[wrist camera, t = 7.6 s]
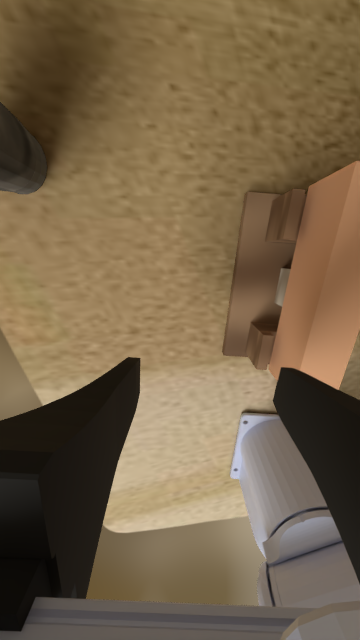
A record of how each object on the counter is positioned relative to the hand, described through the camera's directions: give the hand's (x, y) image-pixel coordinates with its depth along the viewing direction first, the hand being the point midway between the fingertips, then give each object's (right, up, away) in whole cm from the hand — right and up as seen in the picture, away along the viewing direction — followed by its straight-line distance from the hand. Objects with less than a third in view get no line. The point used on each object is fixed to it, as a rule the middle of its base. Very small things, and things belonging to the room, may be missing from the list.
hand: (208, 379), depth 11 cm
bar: (+8, +5, +6) cm, 11 cm away
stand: (+8, +6, +8) cm, 13 cm away
